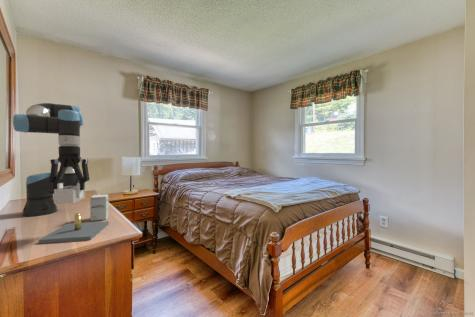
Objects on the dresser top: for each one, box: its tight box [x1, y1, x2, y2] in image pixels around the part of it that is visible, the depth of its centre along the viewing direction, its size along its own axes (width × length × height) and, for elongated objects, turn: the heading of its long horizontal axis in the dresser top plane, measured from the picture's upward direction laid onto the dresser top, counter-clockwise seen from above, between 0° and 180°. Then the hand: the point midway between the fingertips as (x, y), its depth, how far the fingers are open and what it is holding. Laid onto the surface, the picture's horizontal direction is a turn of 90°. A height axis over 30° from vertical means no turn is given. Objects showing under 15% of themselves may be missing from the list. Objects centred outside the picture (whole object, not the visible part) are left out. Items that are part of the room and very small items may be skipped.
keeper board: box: [38, 220, 109, 244], centre depth 97 cm, size 20×18×2 cm
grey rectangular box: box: [53, 186, 86, 205], centre depth 96 cm, size 10×7×6 cm
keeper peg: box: [73, 213, 82, 230], centre depth 96 cm, size 2×2×7 cm
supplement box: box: [89, 193, 109, 222], centre depth 117 cm, size 7×7×13 cm
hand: (70, 197), depth 96 cm, fingers closed on grey rectangular box, 7 cm apart
